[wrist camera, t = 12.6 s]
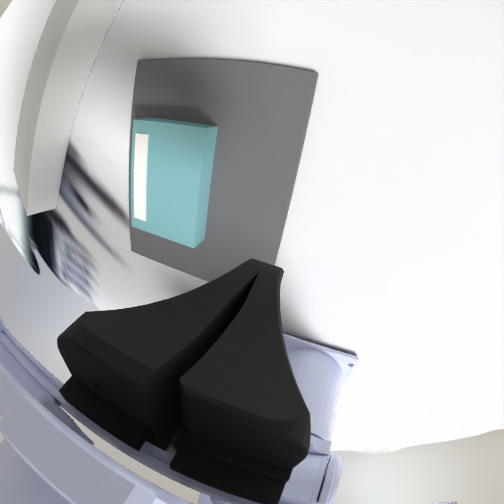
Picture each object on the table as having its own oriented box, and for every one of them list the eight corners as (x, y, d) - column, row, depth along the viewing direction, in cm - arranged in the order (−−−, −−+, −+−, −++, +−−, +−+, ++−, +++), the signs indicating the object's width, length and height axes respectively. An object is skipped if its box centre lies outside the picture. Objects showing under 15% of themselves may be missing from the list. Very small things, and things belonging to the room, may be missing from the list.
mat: (265, 298, 24) (264, 301, 24) (133, 249, 27) (131, 251, 27) (318, 73, 15) (317, 72, 14) (140, 60, 17) (137, 60, 17)
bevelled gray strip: (41, 164, 31) (59, 207, 29) (13, 170, 27) (27, 215, 25) (134, -63, 12) (179, -70, 10) (101, -73, 8) (138, -88, 6)
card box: (193, 248, 21) (131, 226, 22) (204, 238, 23) (144, 218, 24) (205, 128, 17) (132, 119, 18) (218, 126, 18) (148, 117, 19)
